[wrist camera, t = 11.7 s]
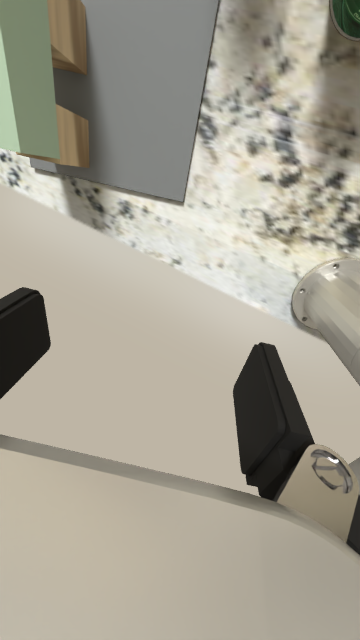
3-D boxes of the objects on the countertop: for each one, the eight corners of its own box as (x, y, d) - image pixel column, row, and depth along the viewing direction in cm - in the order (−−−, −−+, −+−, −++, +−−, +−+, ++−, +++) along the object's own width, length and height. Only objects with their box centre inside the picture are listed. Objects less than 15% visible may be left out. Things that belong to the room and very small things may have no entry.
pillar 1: (85, 6, 23) (41, -55, 17) (86, 75, 26) (50, 42, 20) (38, -5, 23) (-23, -70, 17) (44, 65, 26) (-5, 30, 20)
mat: (251, -182, 17) (252, -194, 17) (183, 201, 32) (182, 201, 31) (-25, -248, 17) (-32, -261, 17) (33, 167, 32) (30, 167, 31)
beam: (43, -43, 17) (-26, -137, 12) (60, 159, 24) (20, 152, 19) (-20, -58, 17) (-115, -159, 12) (15, 148, 24) (-37, 139, 19)
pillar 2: (88, 120, 28) (55, 103, 22) (89, 167, 30) (60, 164, 24) (49, 111, 28) (5, 92, 22) (53, 159, 30) (16, 154, 24)
